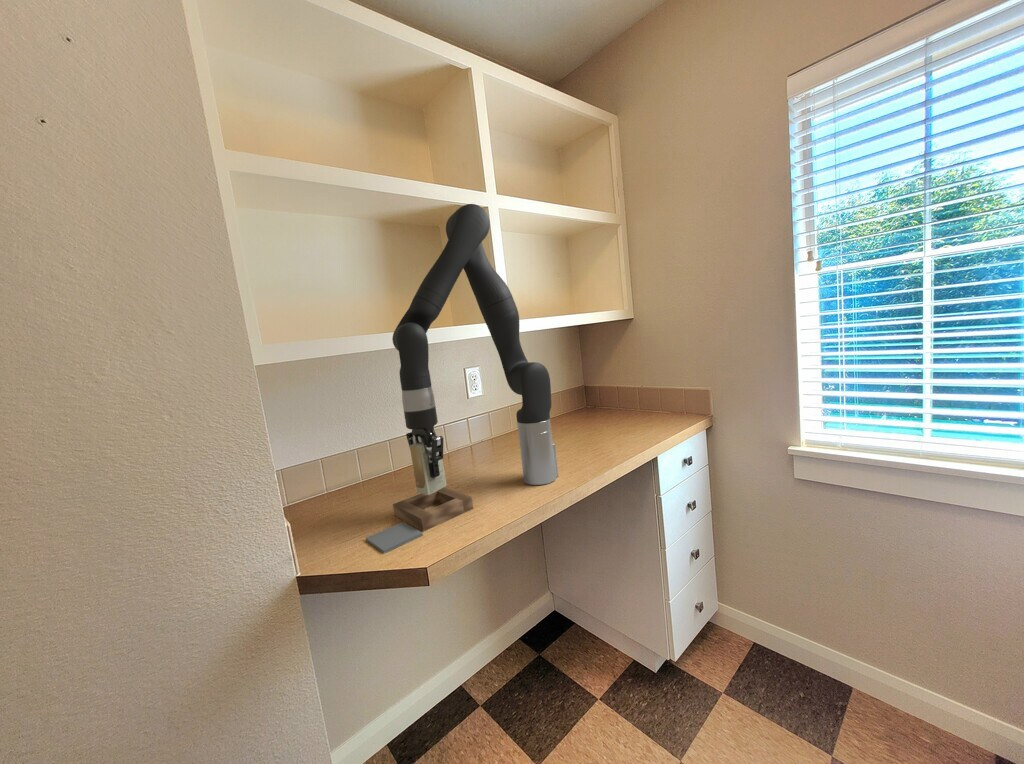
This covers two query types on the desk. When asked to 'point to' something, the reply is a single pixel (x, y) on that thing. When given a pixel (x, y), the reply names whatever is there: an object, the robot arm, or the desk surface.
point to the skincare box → (426, 471)
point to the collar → (425, 520)
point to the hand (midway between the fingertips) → (429, 474)
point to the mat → (393, 537)
